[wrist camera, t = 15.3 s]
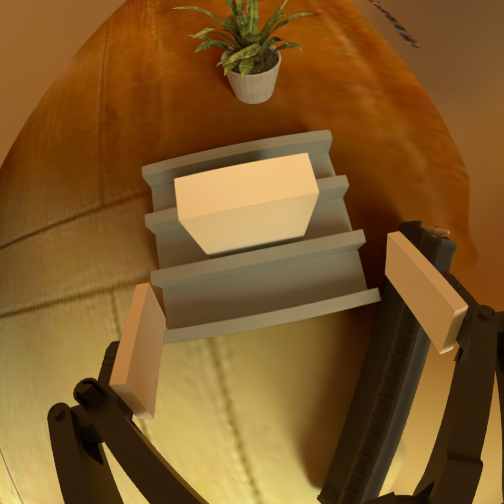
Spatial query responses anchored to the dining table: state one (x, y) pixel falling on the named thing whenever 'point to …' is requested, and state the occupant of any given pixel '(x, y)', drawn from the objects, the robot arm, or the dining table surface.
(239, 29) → the house plant
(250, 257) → the notched rack
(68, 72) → the dining table surface
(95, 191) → the dining table surface
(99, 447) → the robot arm
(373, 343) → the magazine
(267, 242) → the picture frame
